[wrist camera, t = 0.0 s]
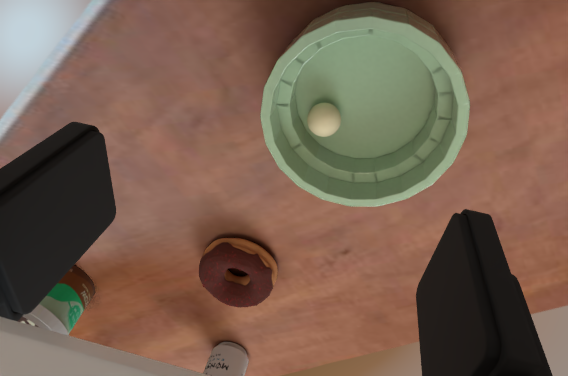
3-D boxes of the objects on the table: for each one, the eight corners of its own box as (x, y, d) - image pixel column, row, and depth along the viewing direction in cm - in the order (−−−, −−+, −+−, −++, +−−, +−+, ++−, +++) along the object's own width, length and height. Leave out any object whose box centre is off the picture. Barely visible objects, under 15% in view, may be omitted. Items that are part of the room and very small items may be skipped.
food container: (111, 311, 64) (71, 368, 56) (77, 305, 65) (33, 360, 57) (89, 257, 57) (40, 313, 49) (51, 250, 58) (-2, 305, 50)
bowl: (247, 51, 35) (225, 72, 30) (426, -38, 29) (434, -28, 24) (319, 188, 42) (310, 224, 37) (476, 141, 35) (491, 177, 31)
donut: (249, 221, 47) (239, 244, 43) (294, 276, 50) (288, 301, 47) (190, 247, 51) (176, 269, 48) (235, 295, 55) (226, 319, 52)
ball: (304, 104, 36) (298, 118, 34) (334, 92, 35) (330, 105, 33) (318, 132, 37) (313, 146, 35) (347, 121, 36) (344, 136, 34)
